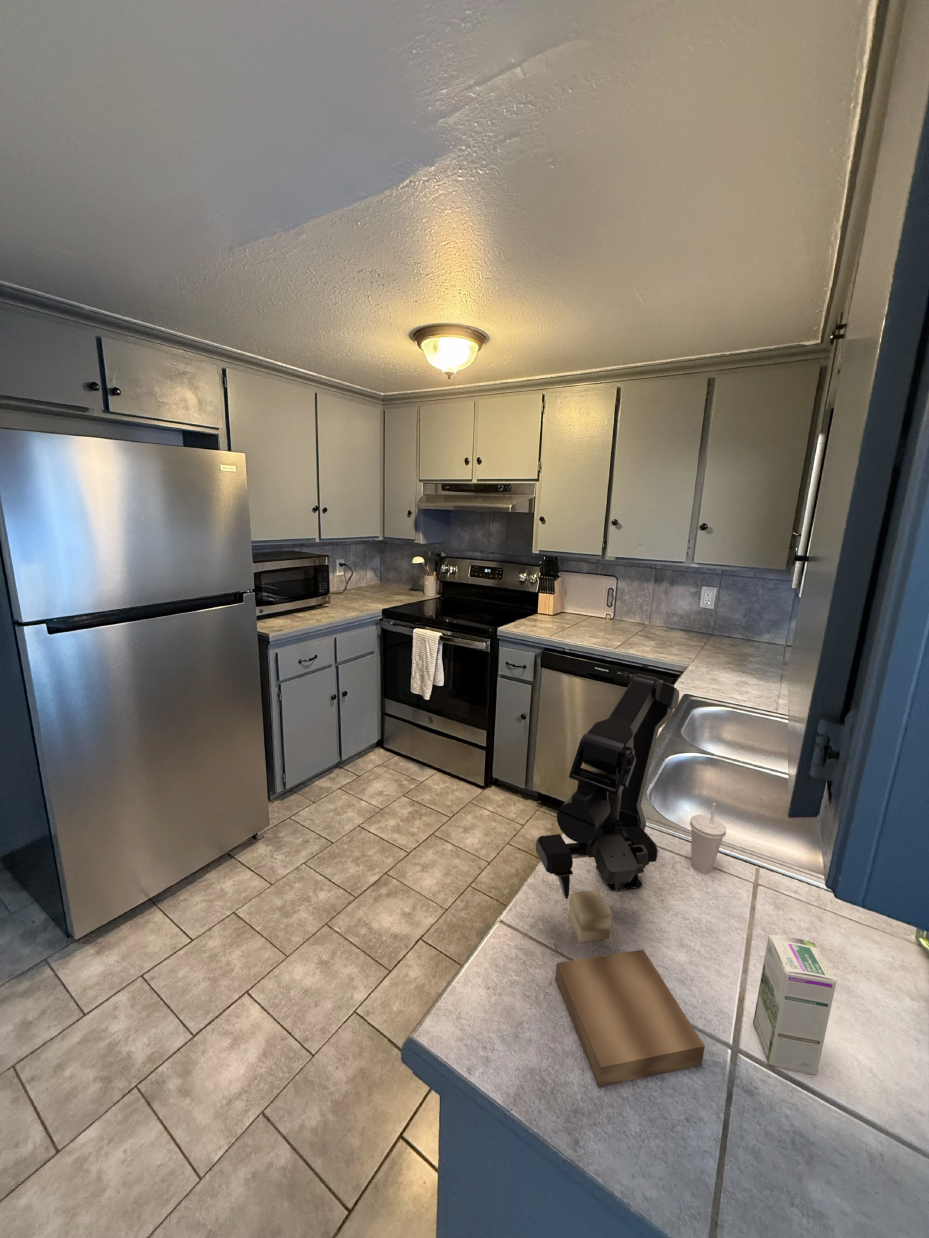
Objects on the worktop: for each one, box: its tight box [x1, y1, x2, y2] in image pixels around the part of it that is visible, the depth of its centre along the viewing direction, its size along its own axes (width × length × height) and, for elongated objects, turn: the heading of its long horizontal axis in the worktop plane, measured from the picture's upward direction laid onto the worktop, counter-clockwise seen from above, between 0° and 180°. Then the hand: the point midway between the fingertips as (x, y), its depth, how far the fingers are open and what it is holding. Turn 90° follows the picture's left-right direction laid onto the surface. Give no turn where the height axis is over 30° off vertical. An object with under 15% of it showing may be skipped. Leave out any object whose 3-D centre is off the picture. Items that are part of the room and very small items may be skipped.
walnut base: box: [554, 949, 706, 1088], centre depth 66 cm, size 14×14×3 cm
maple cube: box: [567, 889, 613, 943], centre depth 81 cm, size 5×5×5 cm
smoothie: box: [689, 802, 727, 875], centre depth 95 cm, size 6×6×14 cm
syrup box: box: [752, 934, 837, 1076], centre depth 62 cm, size 6×6×14 cm
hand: (591, 893), depth 80 cm, fingers open, 9 cm apart
